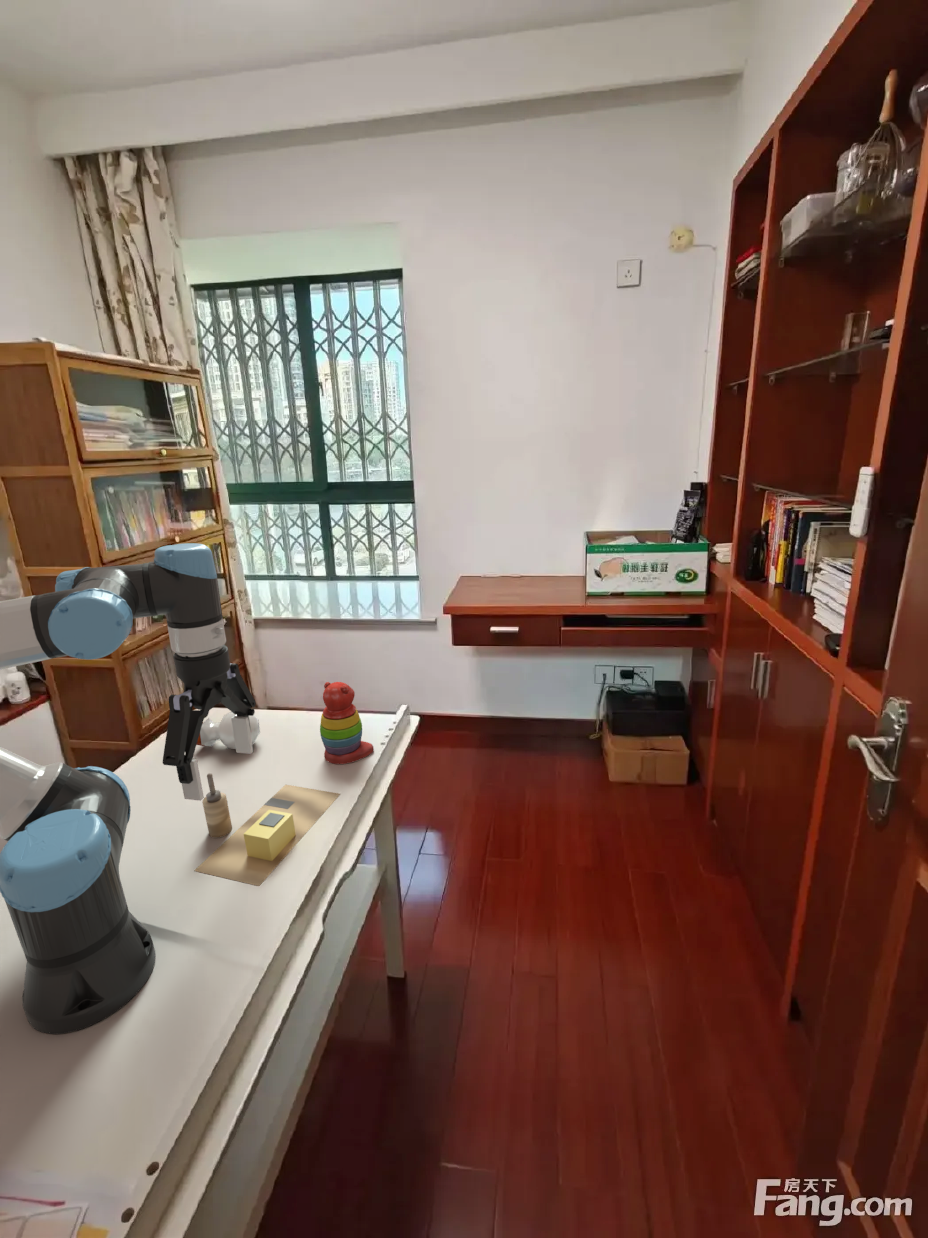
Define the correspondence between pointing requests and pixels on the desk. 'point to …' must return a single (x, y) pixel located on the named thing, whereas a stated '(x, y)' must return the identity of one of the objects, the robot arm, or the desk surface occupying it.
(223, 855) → the board
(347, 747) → the stacking bear
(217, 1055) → the desk surface
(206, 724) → the potion bottle
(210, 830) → the awl
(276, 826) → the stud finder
